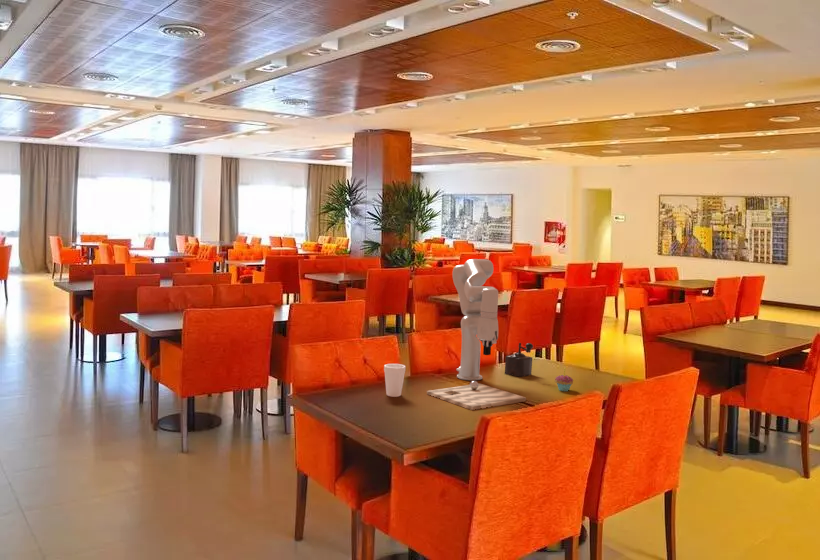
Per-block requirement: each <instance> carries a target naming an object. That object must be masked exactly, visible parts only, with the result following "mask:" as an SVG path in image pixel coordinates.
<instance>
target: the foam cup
mask: <svg viewBox="0 0 820 560" xmlns="http://www.w3.org/2000/svg"><path fill="white" fill-rule="evenodd" d="M406 369H407V368H406V365H405V364H401V363H387V364H384V365H383V371H384V381H385V392H386V393H385V394H386V396H388V397H393V398H395V397H396V398H397V397H401V395H402V390H403V386H404V378H405V373H406Z"/></svg>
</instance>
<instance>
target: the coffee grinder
mask: <svg viewBox="0 0 820 560" xmlns="http://www.w3.org/2000/svg"><path fill="white" fill-rule="evenodd" d="M533 348H534V345H533V344H532V343H531V342H527V343H526V344H525V347H523V346H522V343H521V342H519V343H518V352H515V353H512V354H510V355H506V356H505V361H504V362H505V363H504V375H508V374H509V376H515V377H520V378H523V377H528V376H531V375H532V372H533V371H532V370H533V357H532V356H529V355H525V354H524V353H522V352H521V349H522V350H524V351H525V352H526V353H527V354H528V353H531V351H532V349H533Z"/></svg>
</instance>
